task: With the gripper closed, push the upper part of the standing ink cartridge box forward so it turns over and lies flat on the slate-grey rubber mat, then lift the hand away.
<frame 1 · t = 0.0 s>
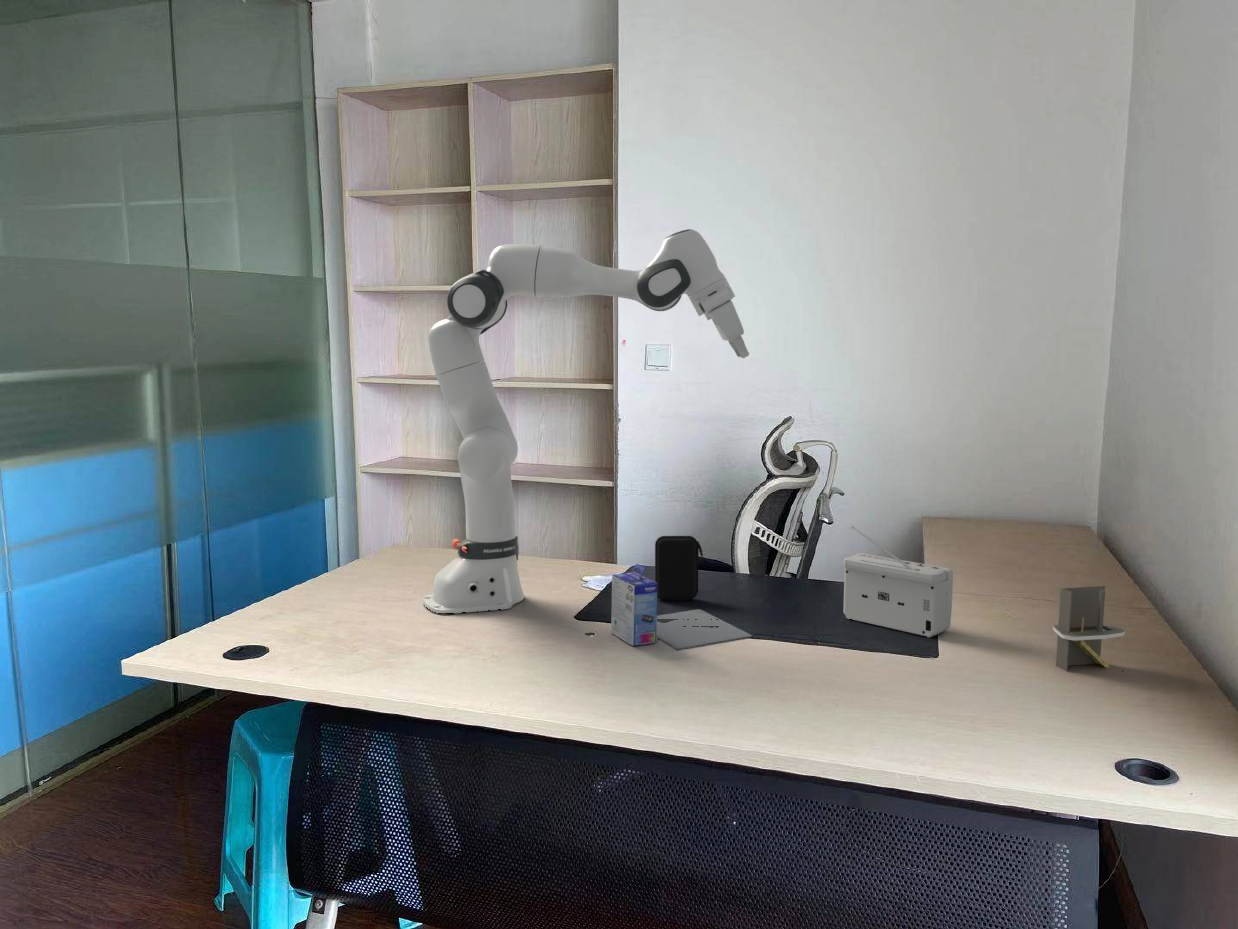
hand: (743, 356, 202), 54 cm above the table, tool tilted 30°, fingers open, 8 cm apart
architectural model: (1083, 670, 167), on the table
ink cartridge box: (634, 639, 184), on the table
carrying case or bag: (678, 600, 210), on the table
stereo radio cassette player: (894, 626, 191), on the table
mat: (689, 629, 189), on the table
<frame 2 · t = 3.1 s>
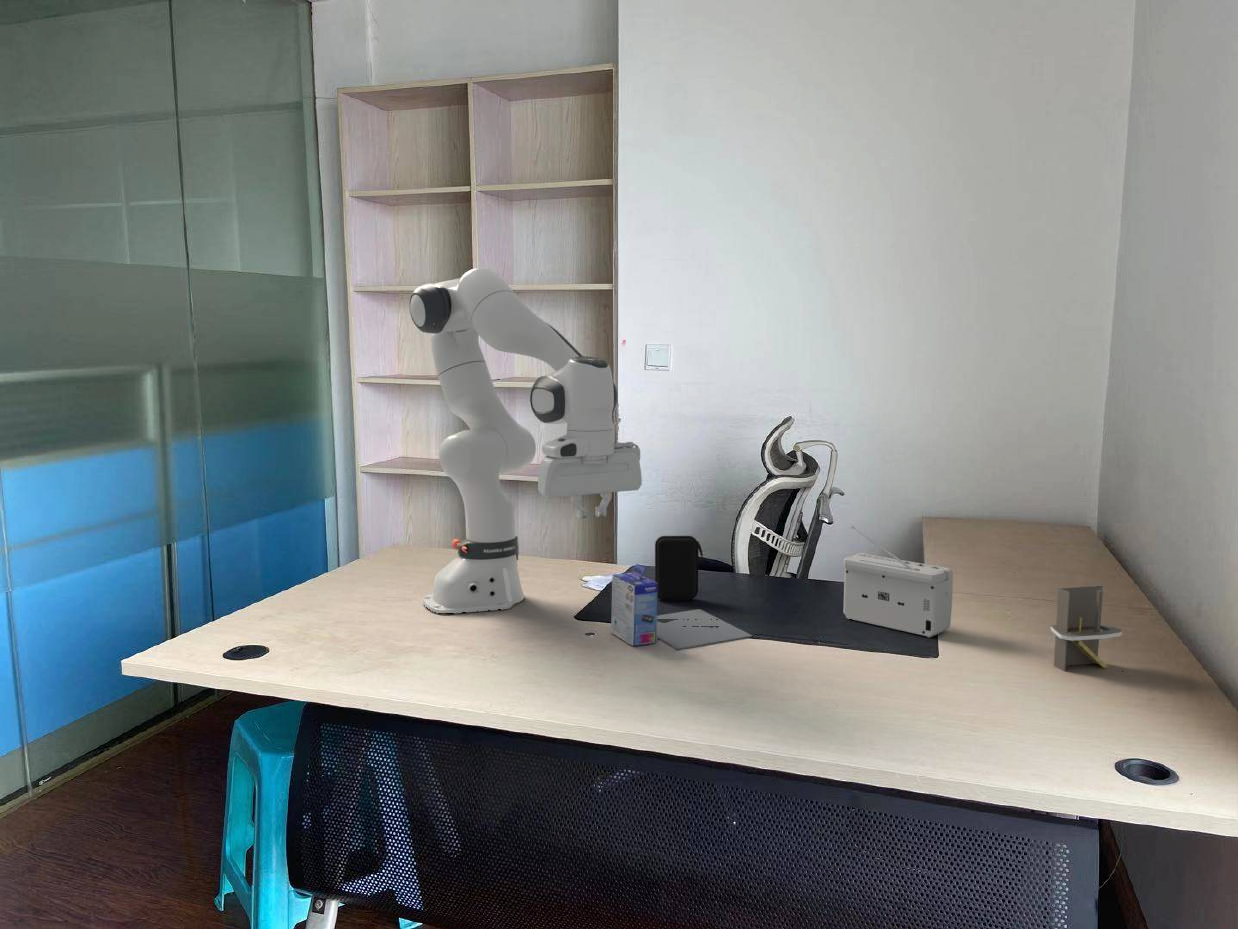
hand: (591, 517, 176), 25 cm above the table, tool pointing down, fingers open, 3 cm apart
nothing on the table moved.
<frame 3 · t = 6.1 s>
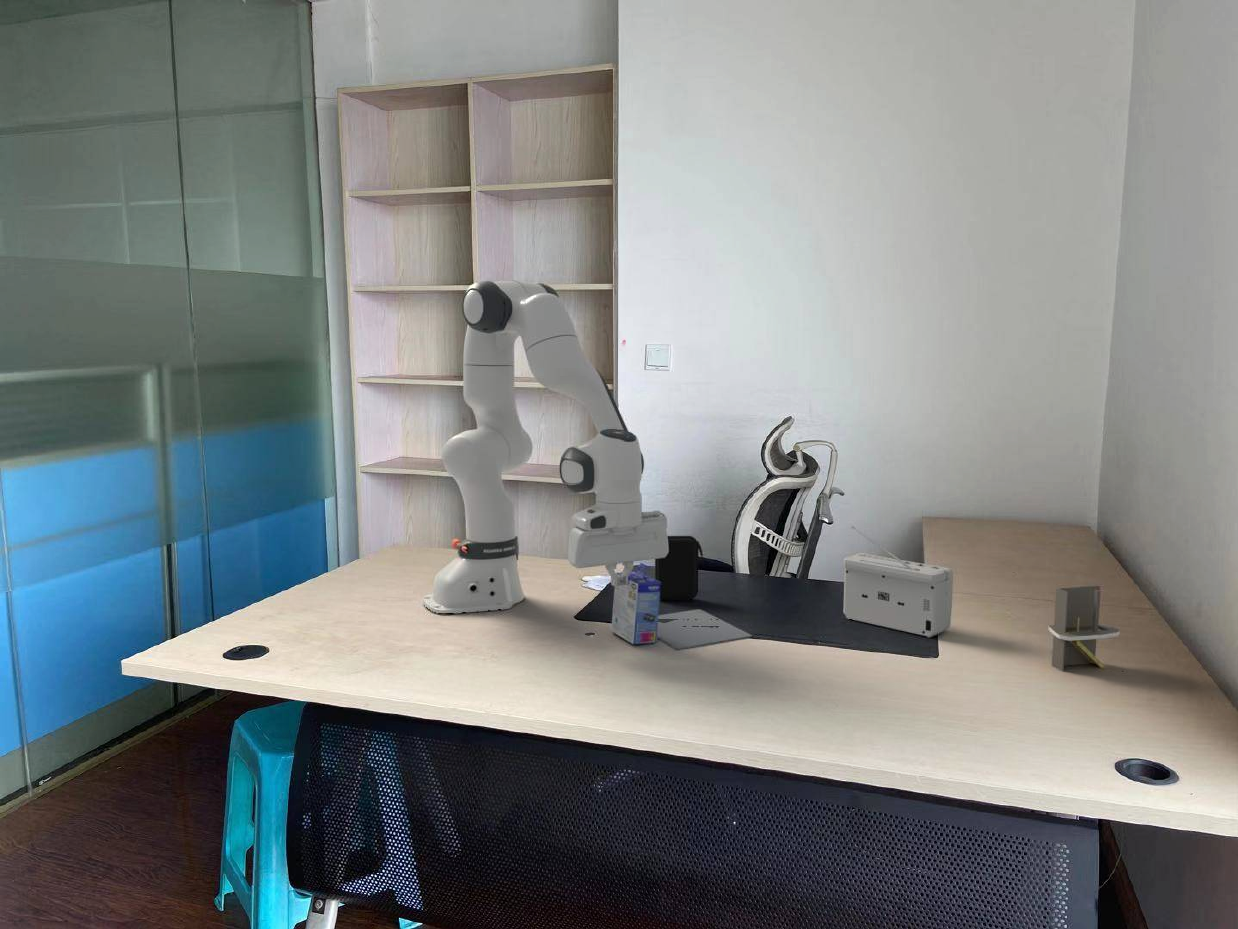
hand: (619, 584, 181), 11 cm above the table, tool pointing down, fingers closed
ink cartridge box: (634, 638, 184), on the table, touching gripper
everything else where it was.
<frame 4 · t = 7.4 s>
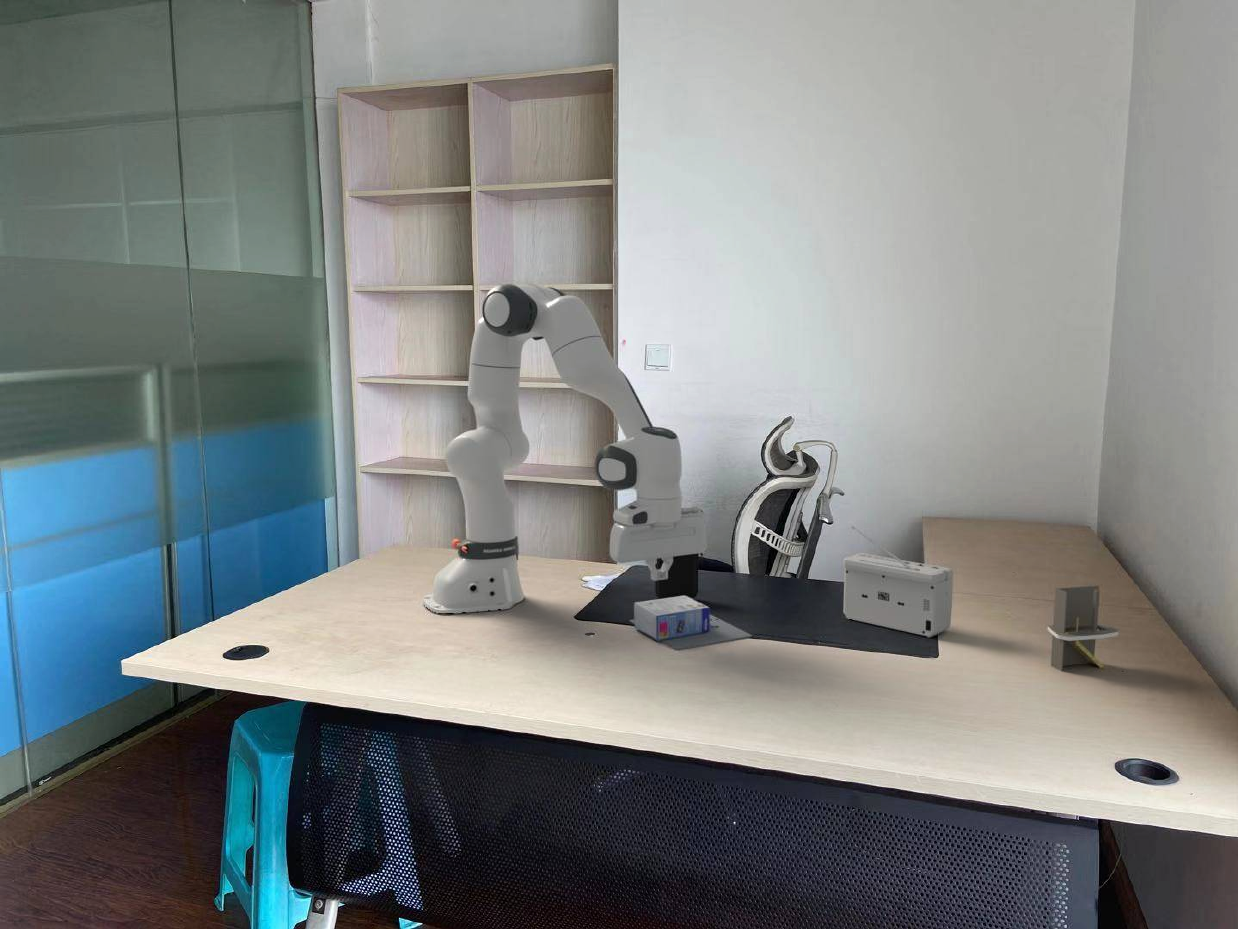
hand: (659, 579, 185), 11 cm above the table, tool pointing down, fingers closed
ink cartridge box: (644, 622, 184), point 3 cm above the table, touching mat
everything else where it was.
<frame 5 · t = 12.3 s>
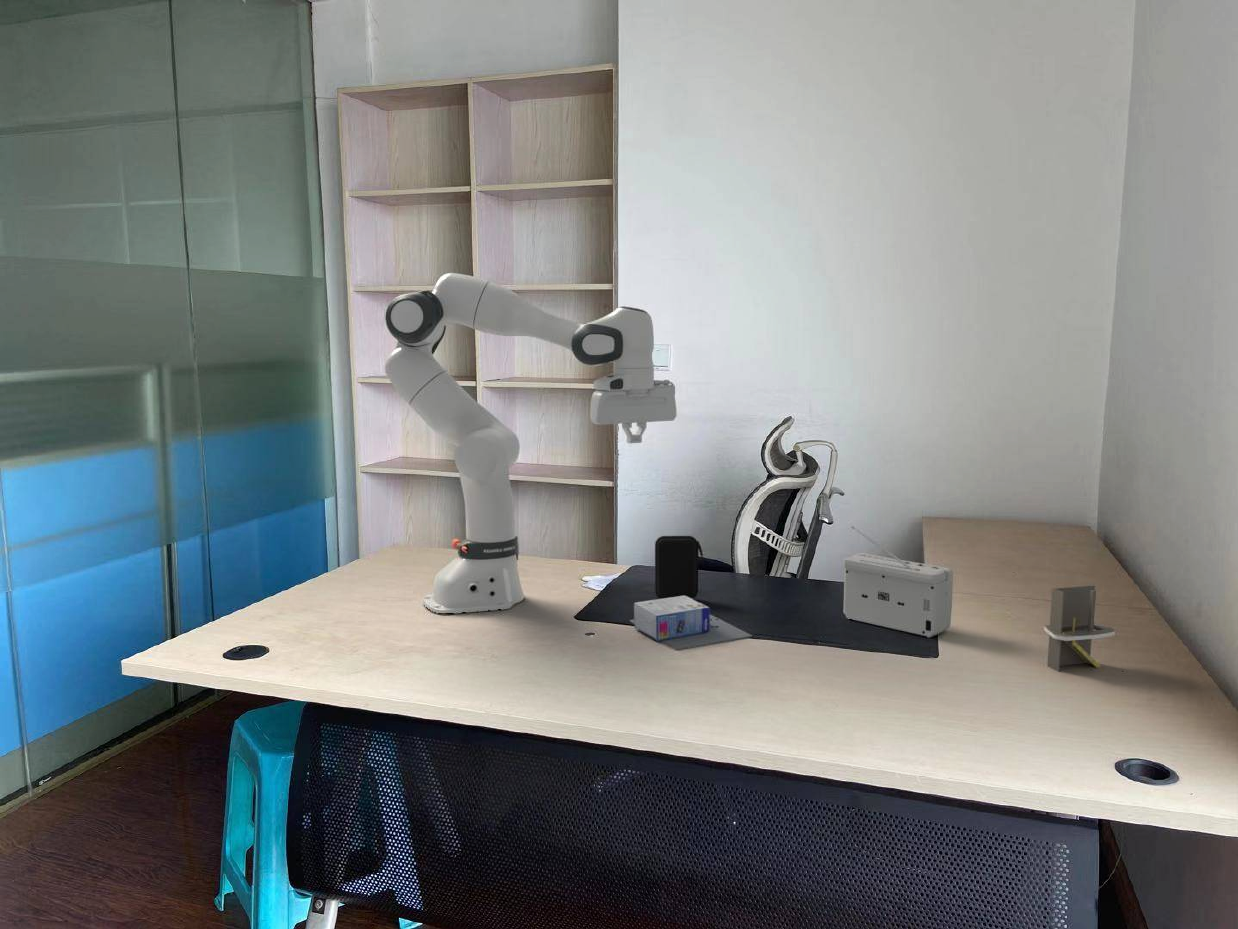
hand: (634, 442, 209), 35 cm above the table, tool pointing down, fingers closed
at the end: ink cartridge box tilted 89°; ink cartridge box touching mat; ink cartridge box inside the target area (7.8 cm from its centre), point 2.9 cm above the table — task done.
